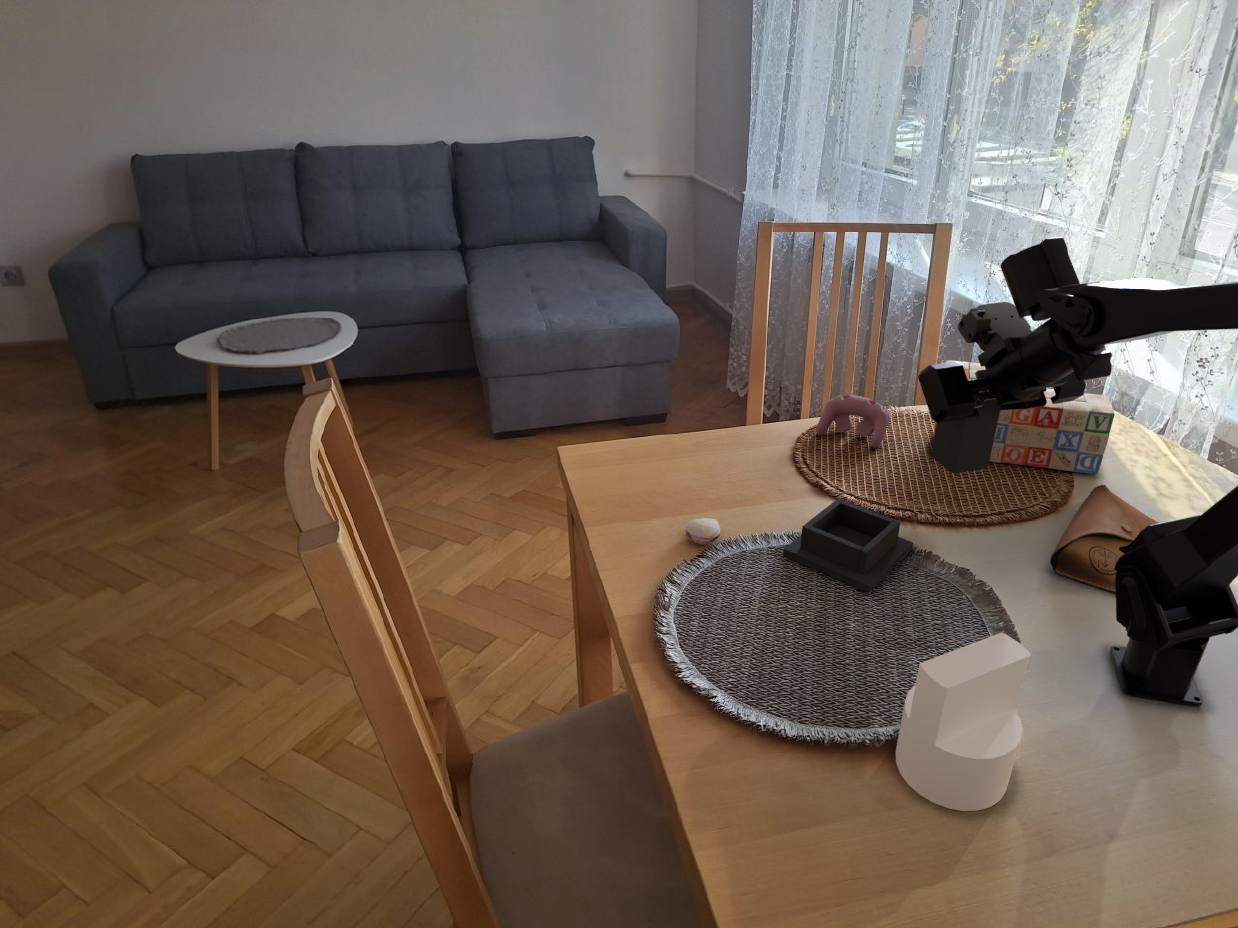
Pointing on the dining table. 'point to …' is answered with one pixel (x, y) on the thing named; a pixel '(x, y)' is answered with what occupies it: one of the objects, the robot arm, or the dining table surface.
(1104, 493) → the sunglasses case
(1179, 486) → the dining table surface
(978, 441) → the black pad block
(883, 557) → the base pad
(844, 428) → the video game controller
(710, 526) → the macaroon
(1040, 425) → the stack of blocks
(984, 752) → the cylinder with rectangular tab
